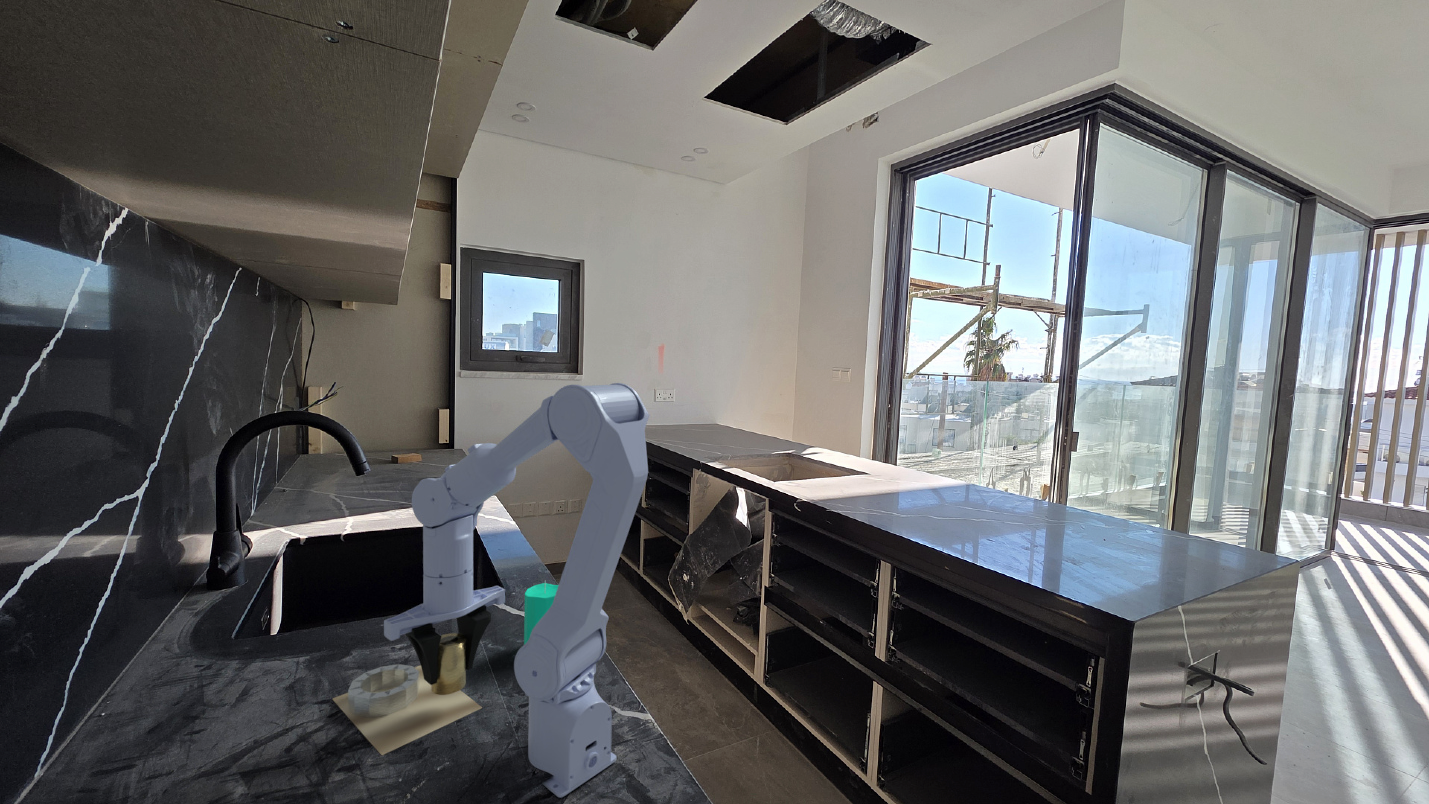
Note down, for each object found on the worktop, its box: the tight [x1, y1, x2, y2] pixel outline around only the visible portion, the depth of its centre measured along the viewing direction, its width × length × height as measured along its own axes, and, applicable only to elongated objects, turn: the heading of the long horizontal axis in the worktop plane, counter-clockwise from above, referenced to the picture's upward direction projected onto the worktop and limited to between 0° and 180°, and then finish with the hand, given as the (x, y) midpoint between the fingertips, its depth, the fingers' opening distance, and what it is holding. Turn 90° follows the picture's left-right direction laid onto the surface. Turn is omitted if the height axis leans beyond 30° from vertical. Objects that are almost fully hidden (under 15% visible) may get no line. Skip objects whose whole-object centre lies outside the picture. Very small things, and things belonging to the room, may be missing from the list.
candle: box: [523, 580, 559, 645], centre depth 88 cm, size 6×6×12 cm
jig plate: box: [332, 664, 483, 756], centre depth 74 cm, size 16×12×1 cm
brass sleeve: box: [431, 632, 467, 695], centre depth 73 cm, size 4×4×6 cm
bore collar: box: [347, 663, 419, 718], centre depth 74 cm, size 8×8×2 cm
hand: (448, 673), depth 73 cm, fingers closed on brass sleeve, 4 cm apart
